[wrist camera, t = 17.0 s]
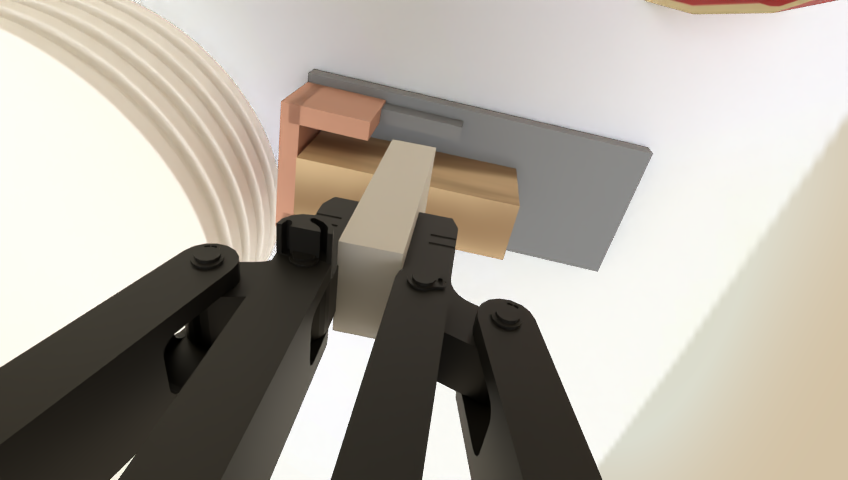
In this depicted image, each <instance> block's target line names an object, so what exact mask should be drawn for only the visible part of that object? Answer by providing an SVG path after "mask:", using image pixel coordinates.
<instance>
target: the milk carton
mask: <svg viewBox="0 0 848 480" xmlns="http://www.w3.org/2000/svg"><path fill="white" fill-rule="evenodd" d="M645 1H647V2H651V3H655V4H658V5H662V6H666V7H669V8H673V9H676V10H680V11H684V12H687V13H691V14H738V13H775V12H780V11H785V10H790V9H795V8H800V7H806V6H811V5H816V4H821V3H826V2H831V1H836V0H645Z"/></svg>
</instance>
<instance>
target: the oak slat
mask: <svg viewBox="0 0 848 480" xmlns="http://www.w3.org/2000/svg"><path fill="white" fill-rule="evenodd" d="M390 143H391V141H386V140H382V139H377V138H372V137H370V138H369V140H368V141H366V140H362V139H357V138H353V137H349V136H345V135H340V134H336V133H332V132H327V131H323V130H322V131H321V132H320V133H319V134H318V135H317V136H316V137H315V138H314V139H313V140H312V141H311V142H310V144H309V145H308V146H307V147H306V148H305V149H304V150H303V151H302V152H301V153H300V154H299V155H298V156H297V157H296V175H295V196H294V214H296V215H297V214H309V215H315V214H316V213H317V211H318V210H319V208H320V207H321V205H322V204H323V203H324V202H326V201H328V200H330V199H332V198H333V197H339V198H344V199H349V200H354V201H360V199H361V198H362V196H363V194H364V192H365V190H366V188H367V186H368V184H369V183H370V181H371V179H372V177H373V175H374V173H375V171H376V169H377V168H378V166H379V164H380V162H381V160H382V158H383V156H384V154H385V152H386V151H387V149H388V147H389V145H390ZM519 207H520V203H519V193H518V182H517V171H516V169H515V168H511V167H506V166H501V165H497V164H492V163H488V162H483V161H478V160H474V159H469V158H465V157H460V156H455V155H451V154H446V153H442V152H437V151H436V152H435V158H434V163H433V169H432V175H431V181H430V187H429V193H428V199H427V205H426V211H425V213H427V214H432V215H437V216H442V217H448V218H453V220H454V222H455V224H456V226H457V227H458V234H457V240H456V247H455V249H456V250H460V251H465V252H469V253H474V254H479V255H483V256H488V257H492V258H497V259H501V260H503V258H504V255H505V251H506V248H507V245H508V242H509V239H510V236H511V233H512V229H513V226H514V223H515V220H516V217H517V214H518V210H519Z"/></svg>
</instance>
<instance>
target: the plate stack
mask: <svg viewBox="0 0 848 480" xmlns="http://www.w3.org/2000/svg"><path fill="white" fill-rule="evenodd" d="M277 180H278V169H277V165H276V161H275V158H274V155H273V152H272V149H271V146H270V143H269V141H268V138H267V136H266V134H265V131H264V129H263V127H262V125H261V123H260V121H259V119H258V117H257V116H256V114H255V112H254V110H253V109H252V107H251V105H250V104H249V102H248V101H247V99H246V98H245V96H244V95H243V93H242V92H241V90H240V89H239V88H238V86H237V85H236V84H235V83H234V81H233V80H232V79H231V78H230V76H229V75H228V74H227V73H226V72H225V70H224V69H223V68H222V67H221V66H220V65H219V64H218V63H217V62H216V61H215V60H214V59H213V58H212V57H211V56H210V55H209V54H208V53H207V52H206V51H205V50H204V49H203V48H202V47H201V46H200V45H199V44H197V43H196V42H195V41H194V40H193V39H192V38H190V37H189V36H188V35H187V34H185V33H184V32H183V31H181V30H180V29H179V28H177V27H176V26H174V25H173V24H172V23H170V22H169V21H167V20H166V19H164V18H162V17H161V16H159V15H158V14H156V13H154V12H152V11H151V10H149V9H147V8H145V7H143V6H141V5H139V4H137V3H135V2H133V1H131V0H0V367H1V366H3V365H5V364H6V363H8V362H9V361H11V360H12V359H14V358H16V357H17V356H19V355H20V354H22V353H23V352H25V351H27V350H28V349H30V348H31V347H33V346H34V345H36V344H38V343H39V342H41V341H42V340H44V339H45V338H47V337H49V336H50V335H52V334H53V333H55V332H57V331H58V330H60V329H61V328H63V327H64V326H66V325H68V324H69V323H71V322H72V321H74V320H75V319H77V318H79V317H80V316H82V315H83V314H85V313H86V312H88V311H90V310H91V309H93V308H94V307H96V306H97V305H99V304H101V303H102V302H104V301H105V300H107V299H108V298H110V297H112V296H113V295H115V294H116V293H118V292H119V291H121V290H123V289H124V288H126V287H127V286H129V285H130V284H132V283H134V282H135V281H137V280H138V279H140V278H141V277H143V276H145V275H146V274H148V273H149V272H151V271H152V270H154V269H156V268H157V267H159V266H160V265H162V264H163V263H165V262H167V261H168V260H170V259H171V258H173V257H174V256H176V255H178V254H179V253H181V252H182V251H184V250H186V249H188V248H190V247H193V246H196V245H201V244H206V243H218V244H222V245H226V246H229V247H231V248H232V249H234V250H236V252H237V254H238V255H239V262H262V261H267V260H268V258H269V257H270V255H271V252H272V250H273V248H274V246H275V243H276V226H275V223H276V202H277ZM184 328H185V326H184V327H183V328H181V329H180V330H179V331H178V332H176V333H175V334H177V333H179V332H180V331H181V330H183V329H184ZM175 334H174V335H175Z"/></svg>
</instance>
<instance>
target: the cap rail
mask: <svg viewBox="0 0 848 480" xmlns="http://www.w3.org/2000/svg"><path fill="white" fill-rule="evenodd" d="M322 130H323V131H327V132H332V133H336V134H340V135H345V136H349V137H353V138H357V139H362V140H366V141H368V140H369V138H370V137H372V138H377V139H382V140H386V141H392V139H393V140H399V141H404V142H409V143H414V144H420V145H425V146H430V147H435V148H436V151H437V152H442V153H446V154H451V155H455V156H460V157H465V158H469V159H474V160H478V161H483V162H488V163H492V164H497V165H501V166H506V167H511V168H515V169H516V171H517V182H518V193H519V203H520V207H519V210H518V214H517V217H516V220H515V223H514V226H513V229H512V233H511V236H510V239H509V242H508V245H507V248H506V250H508V251H512V252H516V253H521V254H525V255H529V256H533V257H538V258H542V259H546V260H550V261H555V262H559V263H563V264H567V265H572V266H576V267H580V268H584V269H589V270H593V271H597V272H598V270H599V268H600V265H601V263H602V261H603V259H604V257H605V255H606V253H607V250H608V248H609V246H610V244H611V242H612V240H613V238H614V236H615V233H616V231H617V229H618V227H619V225H620V223H621V221H622V218H623V216H624V214H625V212H626V210H627V208H628V206H629V203H630V201H631V199H632V197H633V195H634V193H635V191H636V188H637V186H638V184H639V182H640V180H641V178H642V176H643V174H644V171H645V169H646V167H647V165H648V163H649V161H650V159H651V156H652V154H653V153H652V152H651V151H650V149H649V148H648V147H644V146H640V145H635V144H631V143H627V142H622V141H618V140H614V139H610V138H605V137H601V136H597V135H593V134H588V133H584V132H580V131H575V130H571V129H567V128H563V127H558V126H554V125H550V124H546V123H541V122H537V121H533V120H528V119H524V118H520V117H516V116H511V115H507V114H503V113H499V112H494V111H490V110H486V109H481V108H477V107H473V106H469V105H464V104H460V103H456V102H452V101H447V100H443V99H439V98H434V97H430V96H426V95H422V94H417V93H413V92H409V91H405V90H400V89H396V88H392V87H387V86H383V85H379V84H375V83H370V82H366V81H362V80H358V79H353V78H349V77H345V76H340V75H336V74H332V73H328V72H323V71H319V70H315V69H314V70H312V71H311V72H309V73H308V82H307V83H306V84H304V85H303V86H301V87H300V88H299V89H297V90H296V91H295V92H293V93H292V94H291V95H289V96H288V97H286V98H285V99H284V100H282V101H281V116H280V137H279V159H278V180H277V202H276V223H277V222H278V221H280V220H281V219H282V218H285V217H288V216H291V215H296V214H294V196H295V175H296V157H297V156H298V155H299V154H300V153H301V152H302V151H303V150H304V149H305V148H306V147H307V146H308V145H309V144H310V142H311V141H312V140H313V139H314V138H315V137H316V136H317V135H318V134H319V133H320V132H321V131H322ZM276 223H275V226H276Z"/></svg>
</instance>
